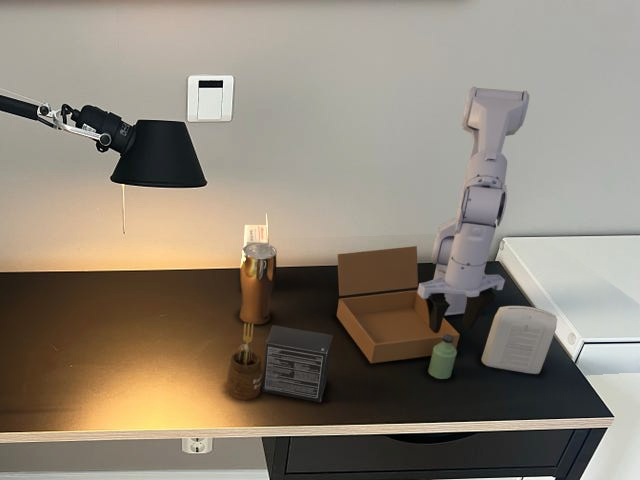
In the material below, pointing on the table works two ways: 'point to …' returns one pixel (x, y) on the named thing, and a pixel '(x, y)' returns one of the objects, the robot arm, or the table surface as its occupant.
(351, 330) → the carton
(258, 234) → the ink cartridge box
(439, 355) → the bottle
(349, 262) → the flap
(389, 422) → the table surface
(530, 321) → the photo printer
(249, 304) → the beer glass
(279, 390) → the small box
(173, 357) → the table surface
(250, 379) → the utensil holder
